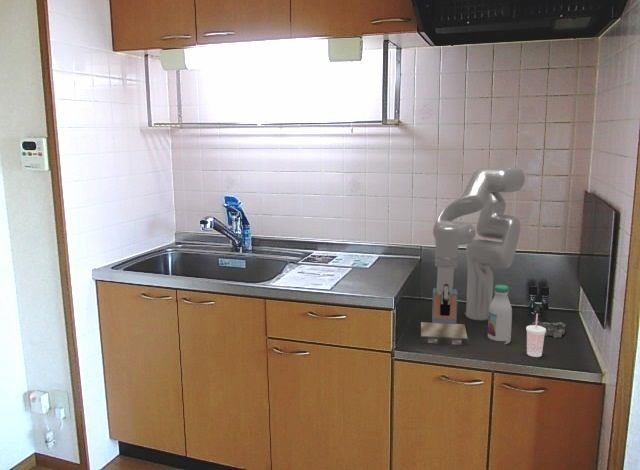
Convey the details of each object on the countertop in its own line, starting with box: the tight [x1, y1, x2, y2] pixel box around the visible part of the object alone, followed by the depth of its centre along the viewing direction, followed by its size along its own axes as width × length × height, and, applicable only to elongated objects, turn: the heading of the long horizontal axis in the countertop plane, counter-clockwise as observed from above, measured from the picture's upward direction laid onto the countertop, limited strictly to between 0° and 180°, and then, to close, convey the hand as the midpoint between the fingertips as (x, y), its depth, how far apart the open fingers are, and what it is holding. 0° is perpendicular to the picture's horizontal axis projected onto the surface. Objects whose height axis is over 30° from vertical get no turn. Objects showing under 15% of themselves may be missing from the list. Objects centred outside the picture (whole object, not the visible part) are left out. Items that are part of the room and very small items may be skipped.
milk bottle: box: [487, 284, 513, 345], centre depth 194 cm, size 8×8×20 cm
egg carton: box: [531, 320, 566, 339], centre depth 203 cm, size 11×8×4 cm
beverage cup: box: [525, 313, 546, 358], centre depth 183 cm, size 6×6×14 cm
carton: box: [431, 287, 459, 324], centre depth 193 cm, size 8×5×11 cm, turn 80°
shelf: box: [420, 321, 470, 346], centre depth 200 cm, size 16×20×4 cm
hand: (444, 311), depth 193 cm, fingers closed on carton, 5 cm apart
